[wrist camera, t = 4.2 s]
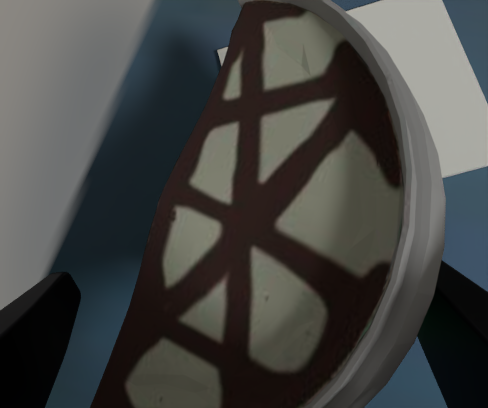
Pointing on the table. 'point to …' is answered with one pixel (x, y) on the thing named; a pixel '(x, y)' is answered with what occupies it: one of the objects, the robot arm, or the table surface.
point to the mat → (432, 76)
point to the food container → (287, 228)
